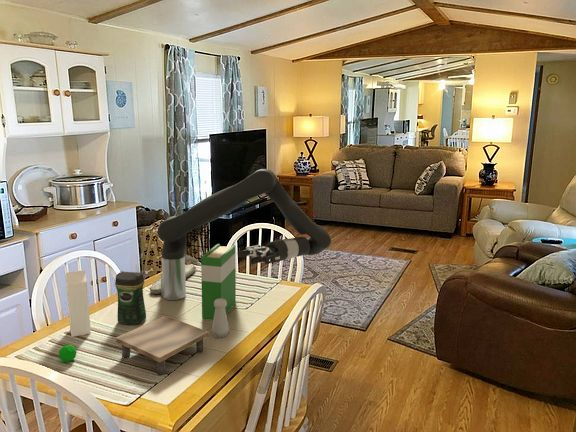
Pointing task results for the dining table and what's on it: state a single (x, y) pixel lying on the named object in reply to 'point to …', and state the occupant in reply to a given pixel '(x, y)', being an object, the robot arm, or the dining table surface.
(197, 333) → the small wooden table
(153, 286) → the long grey stone
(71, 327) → the milk
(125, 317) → the coffee jar
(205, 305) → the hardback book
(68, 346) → the polyhedron
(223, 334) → the salt shaker
